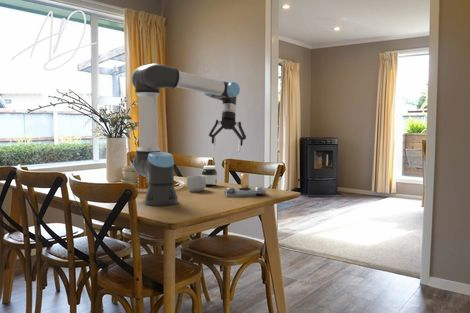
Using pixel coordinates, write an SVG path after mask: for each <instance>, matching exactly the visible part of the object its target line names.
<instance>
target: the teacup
mask: <svg viewBox="0 0 470 313" xmlns="http://www.w3.org/2000/svg"><path fill="white" fill-rule="evenodd" d="M185 179H186V180H185V181H186V187H187V190H189V191H190V192H193V193H194V192H196V193H197V192H202V191H204V190H205V189H206V188H207V187H206V176H202V174H201V175H190V176H186V177H185Z"/></svg>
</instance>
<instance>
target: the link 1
mask: <svg viewBox="0 0 470 313" xmlns="http://www.w3.org/2000/svg"><path fill="white" fill-rule="evenodd" d="M234 188H235V187H226V190H224V195H225V197H226V198H240V197H241V198H242V197H243V198H246V197H247V198H248V197H249V198H251V197H257V195H256V194H236V192H235V191H234Z"/></svg>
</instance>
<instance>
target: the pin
mask: <svg viewBox="0 0 470 313" xmlns="http://www.w3.org/2000/svg"><path fill="white" fill-rule="evenodd" d="M249 175H250V174H249V173H247V172H246V173H241V174H240V188H241V190H249V187H250V186H249V184H250V180H249V179H250V176H249Z"/></svg>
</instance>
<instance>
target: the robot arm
mask: <svg viewBox="0 0 470 313" xmlns="http://www.w3.org/2000/svg"><path fill="white" fill-rule="evenodd" d="M131 75H132V76H131V83H132V85H133V87H134V88H135V90H134V91H135V92H134V93H135V95H136V96H137V97H138V139H139V140H138V141H139V142H138V147H137V148H136V150H135V156H134V158H133V160H132V167H133V171H135V173H137V175H139V176H140V177H143V178H148V188H147V191H146V194H145V197H144V205H147V206H152V207H153V206H155V207H162V206H163V207H164V206H172V205H176V204H178V200H179V198H178V194H177V191H176V189H175V185H174V184H175V183H174V182H175V179H174V178H175V173H174V172H175V171H174V170H175V169H174V168H175V167H174V166H175V161H174V156H173V154H172V153H170V152H167V151H165V152H164V151H161V149H160V148H159V147H158V115H157V114H158V113H157V111H158V108H157V105H158V102H157V100H158V96H159V95H160V93H161V90H160V89H173V90H174V89H177V88H179V89H184V90H190V91H193V92H194V91H195V92H200V93H204V95H205V96H206V97H209V98H212V99H215V100H219V101H221V102H222V106H221V107H222V109H221V120H219V119H216V120H215V123H214V125H213V127H212V128H211V129H210V132H209V133H208V136H209V137H211V144H213V148H212V149H213V151H215V150H216V136H217V135H218V134H219V133H221V131H222V130H229V131H230V130H232V131H233V132H234V133H235V136H237V138H238V146H237V148H238V149H237V150H238V151H237V152H238V153H240V152H241V146H243V145H244V144H243V143H244V142H243V141H244V140H246V139H247V136H246V133H245V131H244V129H243V126H242V122H241V121H239V122H237V121H236V116H237V115H236V113H237V97H238V96H239V95H240V91H241V88H240V87H241V86H239V84H238V83H237V82H235V81H226V80H225V81H223V80H220V79H219V80H218V79H214V78H210V77H206V76H201V75H197V74H192V73H189V72H184V71H180V70H179V69H178V68H177V67H172V66H169V65H166V64H161V63H155V62H154V63H150V64H145V65H141V66H139V67H137V68H136V69H134V70H133V72H132V74H131ZM218 125H221V126H220V127H219V128H218V129H217V130H216V128H217V127H218ZM235 126H237V127H238V129H239V131H238V129H237V128H236V127H235ZM215 130H216V131H215Z"/></svg>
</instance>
